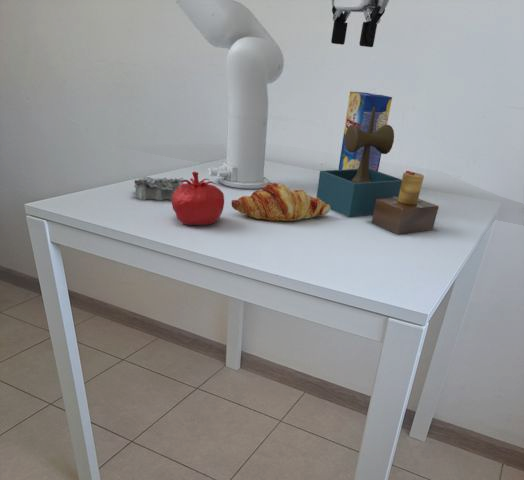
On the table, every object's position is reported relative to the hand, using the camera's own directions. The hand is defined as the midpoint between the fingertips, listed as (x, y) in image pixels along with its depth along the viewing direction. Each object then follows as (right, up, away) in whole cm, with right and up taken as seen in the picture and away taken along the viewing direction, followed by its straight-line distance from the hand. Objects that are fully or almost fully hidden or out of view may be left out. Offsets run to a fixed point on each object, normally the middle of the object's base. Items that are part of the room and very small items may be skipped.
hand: (351, 45), depth 101 cm
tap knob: (+11, -34, -2) cm, 35 cm away
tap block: (+11, -38, +1) cm, 39 cm away
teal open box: (+3, -30, +11) cm, 33 cm away
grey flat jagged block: (-42, -30, +7) cm, 52 cm away
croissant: (-15, -36, 0) cm, 39 cm away
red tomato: (-31, -39, -7) cm, 50 cm away
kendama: (+3, -30, +11) cm, 32 cm away
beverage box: (+7, -19, +31) cm, 37 cm away
